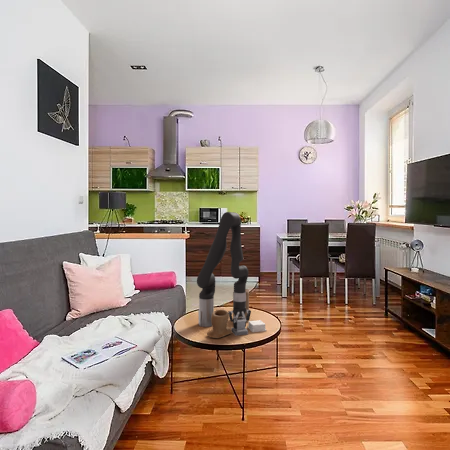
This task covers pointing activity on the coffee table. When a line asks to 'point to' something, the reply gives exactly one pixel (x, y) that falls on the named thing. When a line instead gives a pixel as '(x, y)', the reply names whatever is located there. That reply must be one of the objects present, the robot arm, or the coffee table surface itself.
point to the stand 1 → (239, 332)
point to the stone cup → (219, 324)
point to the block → (246, 303)
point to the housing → (240, 324)
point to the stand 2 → (256, 326)
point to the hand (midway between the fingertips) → (239, 327)
